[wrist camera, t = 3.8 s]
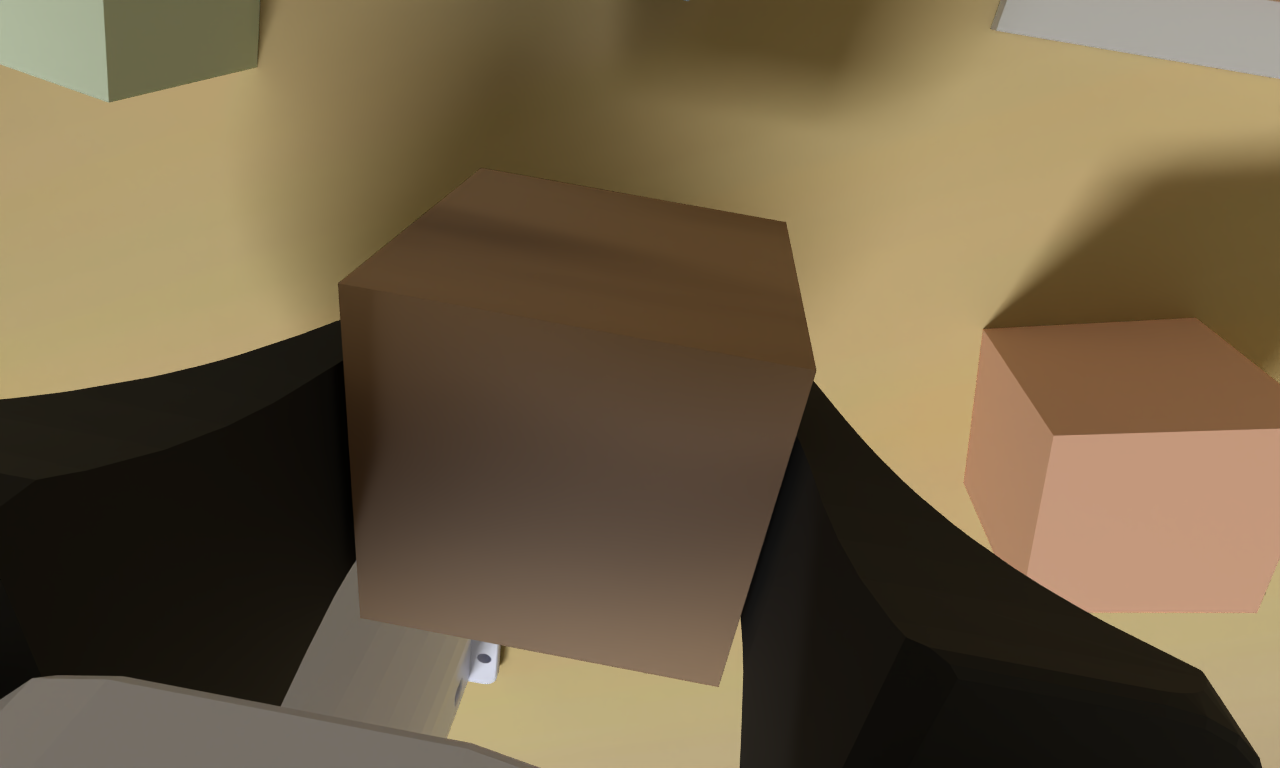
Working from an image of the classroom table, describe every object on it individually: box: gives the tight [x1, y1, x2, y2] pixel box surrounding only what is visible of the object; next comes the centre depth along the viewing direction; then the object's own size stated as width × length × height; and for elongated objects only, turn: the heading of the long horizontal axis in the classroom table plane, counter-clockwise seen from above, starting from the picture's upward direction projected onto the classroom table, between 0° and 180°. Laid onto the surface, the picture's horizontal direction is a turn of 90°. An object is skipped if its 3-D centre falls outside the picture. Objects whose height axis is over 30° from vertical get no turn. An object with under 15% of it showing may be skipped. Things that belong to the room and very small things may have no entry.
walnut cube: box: [338, 168, 816, 687], centre depth 11 cm, size 5×5×5 cm
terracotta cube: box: [964, 318, 1280, 613], centre depth 18 cm, size 5×5×5 cm
